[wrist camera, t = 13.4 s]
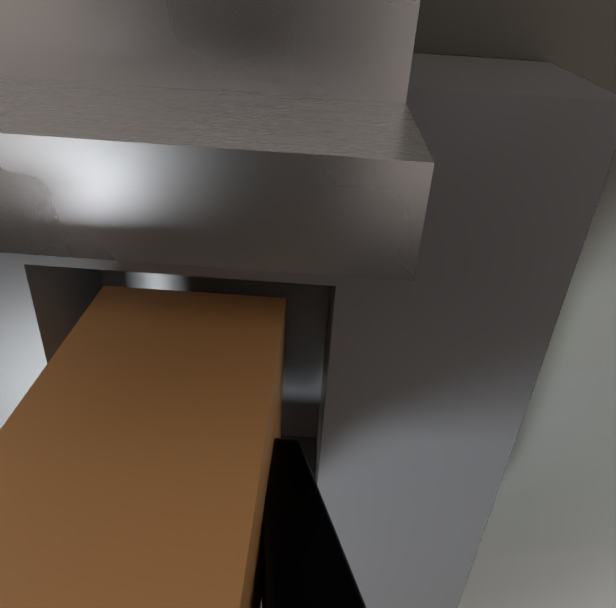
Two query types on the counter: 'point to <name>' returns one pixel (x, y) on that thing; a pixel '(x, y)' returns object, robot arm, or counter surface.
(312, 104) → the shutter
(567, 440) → the counter surface
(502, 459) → the socket
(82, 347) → the plug
